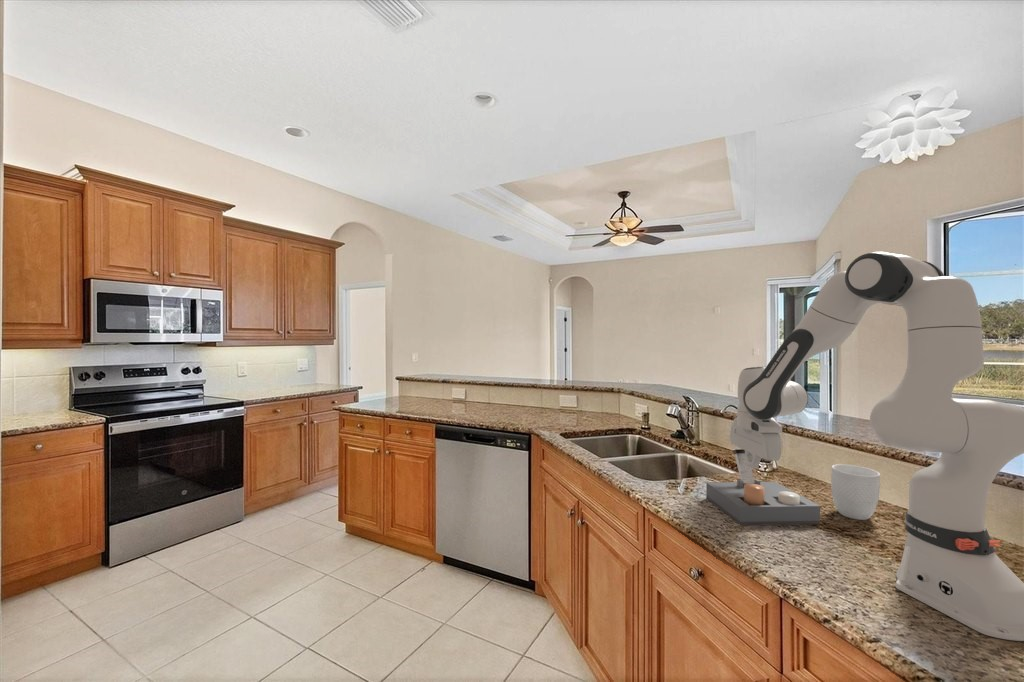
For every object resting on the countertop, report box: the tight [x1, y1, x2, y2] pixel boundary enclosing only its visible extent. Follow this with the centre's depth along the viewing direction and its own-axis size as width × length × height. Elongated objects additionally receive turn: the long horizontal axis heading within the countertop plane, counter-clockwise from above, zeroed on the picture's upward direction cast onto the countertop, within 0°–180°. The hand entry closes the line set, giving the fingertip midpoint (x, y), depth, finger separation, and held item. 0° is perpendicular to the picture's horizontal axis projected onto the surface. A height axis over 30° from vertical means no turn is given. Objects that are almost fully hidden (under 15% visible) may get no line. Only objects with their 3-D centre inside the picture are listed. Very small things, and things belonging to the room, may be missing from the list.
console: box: [705, 478, 821, 526], centre depth 130 cm, size 19×22×7 cm
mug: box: [830, 463, 881, 521], centre depth 128 cm, size 15×11×13 cm
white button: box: [778, 491, 800, 505], centre depth 124 cm, size 5×5×5 cm
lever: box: [733, 448, 755, 486], centre depth 137 cm, size 2×4×11 cm, turn 93°
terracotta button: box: [744, 484, 765, 505], centre depth 124 cm, size 5×5×5 cm
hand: (752, 467), depth 133 cm, fingers closed
